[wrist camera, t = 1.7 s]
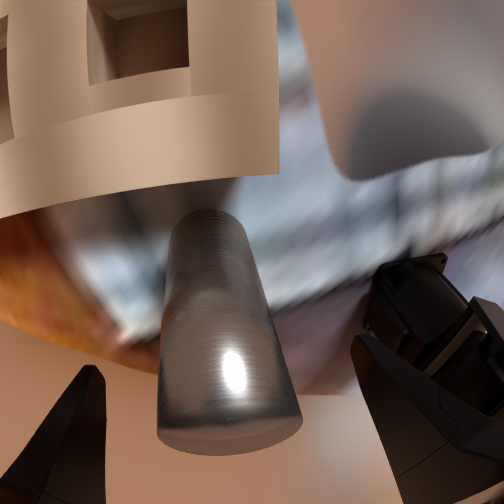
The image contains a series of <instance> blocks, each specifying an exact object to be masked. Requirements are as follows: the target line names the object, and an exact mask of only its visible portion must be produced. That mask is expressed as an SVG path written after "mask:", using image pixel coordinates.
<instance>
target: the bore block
mask: <svg viewBox="0 0 504 504" xmlns="http://www.w3.org/2000/svg"><path fill="white" fill-rule="evenodd" d="M267 174H279V73H278V37H277V10H276V0H0V218H3V217H7V216H11V215H14V214H18V213H22V212H26V211H30V210H34V209H38V208H42V207H47V206H51V205H55V204H60V203H64V202H69V201H74V200H79V199H84V198H89V197H94V196H99V195H105V194H110V193H116V192H122V191H128V190H134V189H141V188H147V187H154V186H161V185H168V184H176V183H184V182H192V181H201V180H210V179H219V178H230V177H241V176H253V175H267Z"/></svg>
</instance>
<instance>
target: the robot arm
mask: <svg viewBox="0 0 504 504" xmlns="http://www.w3.org/2000/svg"><path fill="white" fill-rule="evenodd" d="M447 259H448V257H447V256H446V255H445V254H444V253H438V254H433V255H427V256H421V257H416V258H410V259H404V260H398V261H392V262H387V263H384V264H383V265H382V266H381V267H380V270H379V274H378V277H377V281H376V285H375V288H374V292H373V295H372V299H371V302H370V305H369V309H368V312H367V315H366V318H365V321H364V324H363V329H364V331H365V332H362V333H357V334H356V335H355V336H354V339H353V342H352V345H351V348H350V354H351V358H352V361H353V364H354V368H355V371H356V375H357V378H358V382H359V385H360V389H361V392H362V394H363V397H364V399H365V402H366V404H367V406H368V409H369V412H370V414H371V416H372V419H373V422H374V424H375V426H376V429H377V432H378V434H379V437H380V440H381V442H382V445H383V447H384V450H385V453H386V456H387V458H388V461H389V464H390V466H391V469H392V472H393V475H394V477H395V481H396V484H397V486H398V489H399V492H400V495H401V498H402V501H403V504H504V311H503V310H502V309H501V308H500V307H499V306H498V305H497V304H496V303H494V302H490V301H487V300H484V299H481V298H478V297H475V296H473V298H472V299H471V300H470V302H468V301H467V300H466V299H465V298H464V297H463V295H462V294H461V293H460V292H459V291H458V290H457V289H456V288H455V287H454V286H453V285H452V283H451V282H450V281H449V280H448V279H447V278H446V277H445V276H444V275H443V274H442V273H443V271H444V268H445V265H446V263H447ZM387 269H388V270H387ZM386 270H387V271H386ZM485 331H487V334H486V333H484V332H485ZM369 332H374V334H375V336H376V337H377V339H378V340H377V339H376V338H374V337H373V336H372V335H370V334H369ZM106 422H107V419H106V383H105V379H104V377H103V375H102V374H101V372H100V371H99V369H98V368H97V367H96V366H95V365H84V366H83V367H82V369H81V370H80V371H79V373H78V374H77V375H76V376H75V378H74V379H73V381H72V382H71V383H70V384H69V386H68V387H67V389H66V390H65V391H64V392H63V394H62V395H61V397H60V398H59V399H58V401H57V402H56V403H55V405H54V406H53V408H52V409H51V410H50V412H49V413H48V415H47V416H46V418H45V419H44V420H43V422H42V423H41V425H40V426H39V428H38V429H37V430H36V432H35V434H34V435H33V437H32V438H31V439H30V441H29V442H28V444H27V445H26V447H25V448H24V449H23V451H22V452H21V453H20V455H19V456H18V457H17V459H16V460H15V461H14V462H13V464H12V465H11V466H10V467H9V468H8V470H7V471H6V472H5V473H4V475H3V476H2V477H1V478H0V504H106V494H105V445H106Z"/></svg>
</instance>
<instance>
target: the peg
mask: <svg viewBox="0 0 504 504" xmlns="http://www.w3.org/2000/svg"><path fill="white" fill-rule="evenodd" d="M302 423H303V418H302V414H301V410H300V407H299V404H298V401H297V397H296V394H295V391H294V388H293V384H292V381H291V378H290V375H289V371H288V368H287V365H286V362H285V358H284V355H283V352H282V349H281V345H280V342H279V339H278V336H277V332H276V329H275V326H274V323H273V319H272V316H271V313H270V310H269V306H268V303H267V300H266V297H265V293H264V290H263V287H262V284H261V280H260V277H259V274H258V271H257V267H256V264H255V261H254V258H253V254H252V251H251V248H250V244H249V241H248V238H247V235H246V232H245V229H244V228H243V226H242V224H241V223H240V222H239V221H238V220H237V219H236V218H235V217H233V216H231V215H230V214H228V213H225V212H222V211H218V210H202V211H198V212H195V213H192V214H190V215H188V216H187V217H185V218H184V219H183V220H181V222H180V223H179V224H178V225H177V226H176V228H175V230H174V232H173V234H172V238H171V244H170V251H169V259H168V266H167V275H166V283H165V292H164V302H163V312H162V324H161V336H160V351H159V369H158V394H157V435H158V437H159V439H160V440H161V441H162V442H163V443H164V444H166V445H167V446H169V447H171V448H174V449H176V450H179V451H182V452H186V453H191V454H198V455H209V456H223V455H236V454H243V453H249V452H253V451H257V450H261V449H264V448H267V447H270V446H273V445H275V444H278V443H280V442H282V441H284V440H286V439H287V438H289V437H290V436H292V435H293V434H294V433H296V432H297V431H298V430H299V428H300V427H301V425H302Z"/></svg>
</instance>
